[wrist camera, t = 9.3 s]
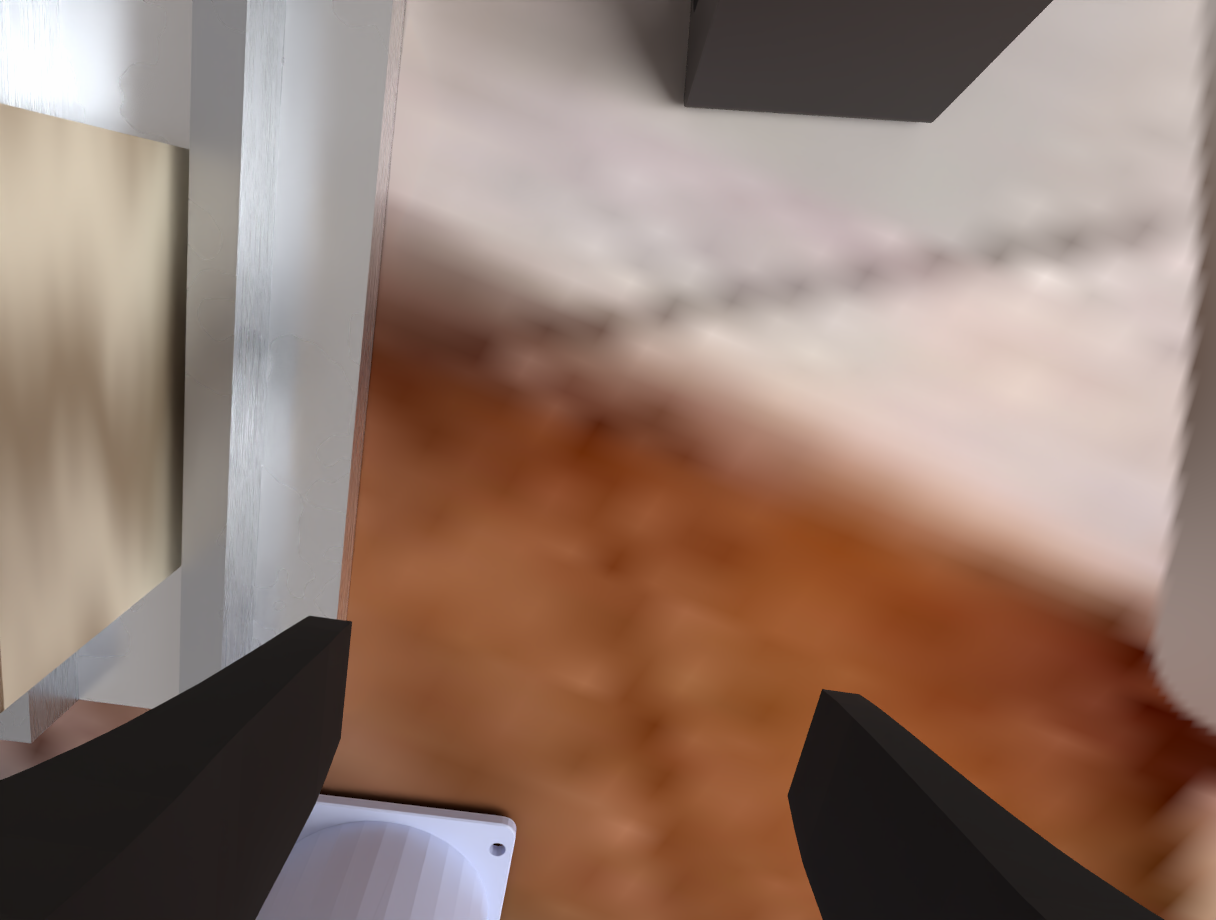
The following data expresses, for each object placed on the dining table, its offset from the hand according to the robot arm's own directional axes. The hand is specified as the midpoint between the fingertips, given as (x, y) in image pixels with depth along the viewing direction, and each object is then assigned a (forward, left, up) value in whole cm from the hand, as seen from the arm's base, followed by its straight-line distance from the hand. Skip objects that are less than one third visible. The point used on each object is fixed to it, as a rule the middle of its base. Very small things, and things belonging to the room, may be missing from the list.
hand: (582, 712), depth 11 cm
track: (+2, +11, -9) cm, 15 cm away
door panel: (+2, +11, -8) cm, 14 cm away
